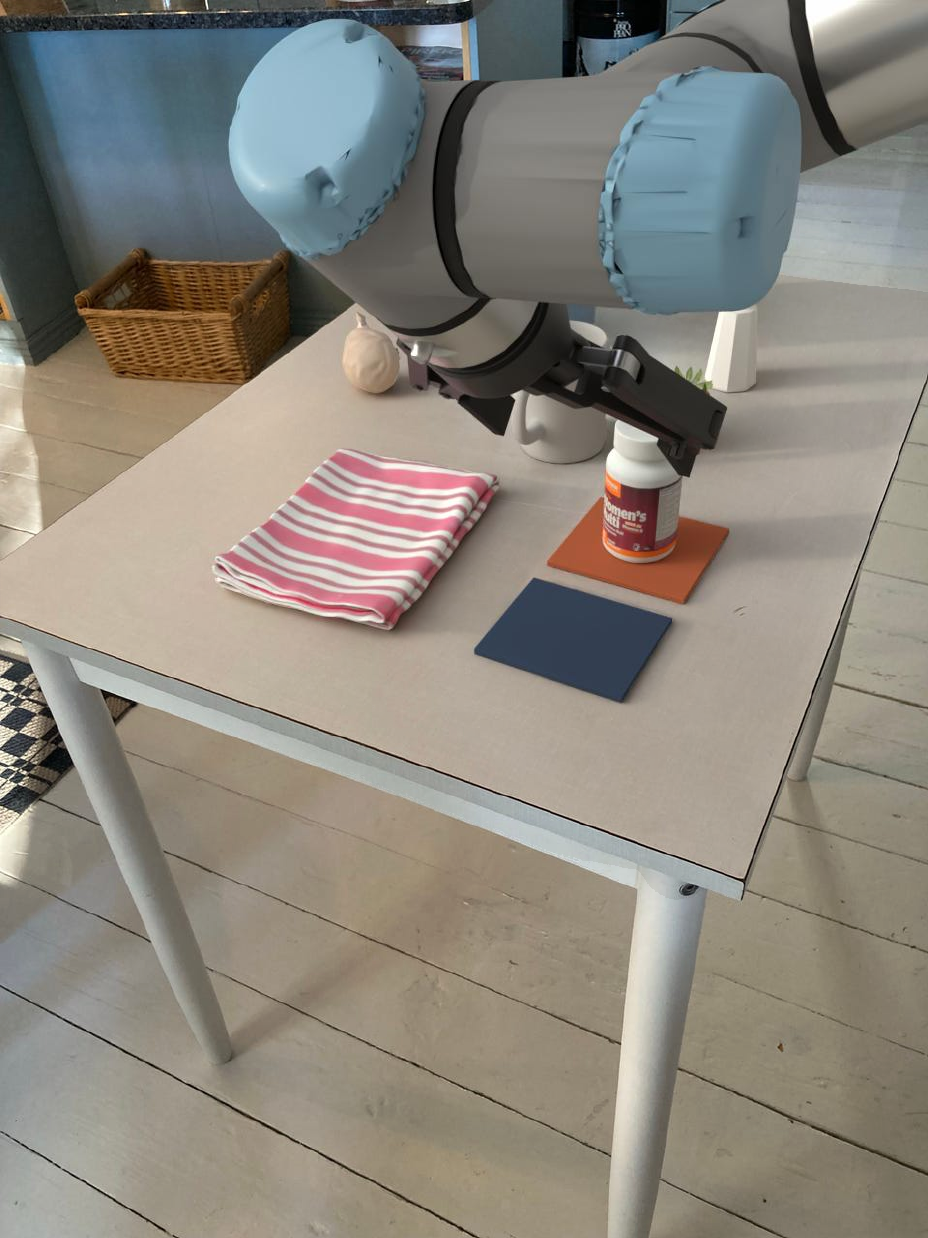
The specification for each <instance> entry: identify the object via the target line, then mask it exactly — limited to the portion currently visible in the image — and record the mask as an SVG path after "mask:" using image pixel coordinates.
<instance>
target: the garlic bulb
mask: <svg viewBox="0 0 928 1238" xmlns="http://www.w3.org/2000/svg"><path fill="white" fill-rule="evenodd" d="M354 315H355V318H356V321H357V326H356V327H355V328H353V329H352V330H351V331H350V332H349V333H348V334H347V336H346V338H345V341H344V348H343V353H342V358H341V364H342V368H343V371H344V373H345V375H346V377H347V379H348V381H349V382H350V383H351V384H352V385H353V386H354V387H355V388H357V389H359V390H362V391H365V392H369V393H370V394H371V393H372V394H381V393H383V392H386V391H388V390H389V389H390V388H391V387H392V386H393V385H394V384H395V383H396V382H397V380H398V378H399V375H400V370H401V369H400V368H401V367H400V361H401V356H400V351H399V349H398V347H395V345H394V343H393V341H392V340H391V338H390V336H389V335H388V334H386V333H385V332H382V331H380V330H377V329H373V328H371V327H369V324H367V321H366V318H367V317H366V316H365V315H363V314H361V313H360V312H359V311H357V310H354Z"/></svg>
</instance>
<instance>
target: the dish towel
mask: <svg viewBox="0 0 928 1238" xmlns="http://www.w3.org/2000/svg"><path fill="white" fill-rule="evenodd" d="M499 489H500V477H499V476H498V475H497V474H495V473H490V472H477V471H472V470H467V469H462V468H456V467H450V466H447V465H439V464H438V465H437V464H432V463H429V462H424V461H423V462H422V461H413V460H407V459H403V458H402V459H401V458H398V457H390V456H389V457H388V456H383V455H382V456H381V455H380V454H375V453H372V452H368V451H364V450H361V449H356V448H350V447H349V448H348V447H347V448H346V447H343V448H339V449H337V450H336V451H335V453H334V454H333V455H332V456H330V457H328V459H325V460H324V461H323V462H322V463H321V464H320V465H319V466H317V467H316V468H314V471H312V474H310V476H308V478H306V479H305V481H304V483H303V485H302V486H300V488H298V490H297V491H295V493H293V494H292V495H290V497H289V498H288V499H287V500H286V501H285V502H284V503H283V504H280V505H279V506H278V508H277V509H276V511H275V512H272V514H270V515H269V518H268V520H267V521H266V522H265V523H264V524H262V525H259V526H256V527H255V528H254V529H253V530H251V531H250V533H248V534H247V535H245V536H243V537H242V538H241V539H240V540H239V542H238V543H237V544H234V545H233V546H232V547H231V549H229V550H228V552H226V553H220V554H217V555H216V556H215V558H214V561H215V562H216V563H215V564H213V565H212V566H211V570H212V573H213V574H214V575H216V577H215V578H214V581H215V583H216V584H217V585H219V586H220V587H222V588H223V589H226V590H228V591H229V590H230V591H232V592H235V593H239V594H242V595H244V596H246V597H250V598H252V599H254V600H255V599H256V600H258V601H261V602H264V603H268V604H273V605H276V606H280V607H284V608H289V609H293V610H298V611H302V612H305V613H310V614H312V615H316V616H321V617H327V618H338V619H343V620H347V621H352V622H355V623H359V624H363V625H366V626H370V627H373V628H377V629H381V630H385V631H390V630H391V629H393V628H394V627H395V626H396V624H397V623H398V620H399V618H400V616H401V615H402V614H403V613H405V612H406V611H407V610H409V609H410V608H411V606H412V604H413V603H415V602H416V601H418V600H419V598H420V597H421V596H422V595H423V593H424V592H425V591H426V589H427V587H428V586H429V584H430V582H431V581H432V579H433V578H434V576H435V575H436V573H437V572H438V571H439V570H440V569H442V567H443V566H444V564H445V563H446V562H447V561H448V560H449V559H450V558H451V556H452V555H453V553H454V551H455V550H456V549H457V548H458V547H459V545H460V542H461V541H462V539H463V538H464V536H465V535H466V533H468V532H469V531H470V530H471V529H472V528H473V527H474V525H475V524H476V523H477V522H478V521H479V520H480V518H481V516H482V514H483V513H484V512H485V510H486V509H487V508H488V507H487V506H488V504H489V502H490V501H491V498H492V497H493V496H494V494H496V492H498V490H499Z"/></svg>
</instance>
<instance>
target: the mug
mask: <svg viewBox="0 0 928 1238" xmlns="http://www.w3.org/2000/svg"><path fill="white" fill-rule="evenodd" d="M570 326H571V329H572V330H574V331H575V332H577V333H578V334H580V335H581V336H583V337H584V338H586V339H587V340H589V341H591V342H593V343H595V344H597V345H599V346H601V347H603V348H604V349H609V337H608V334H607V333H606V332H605V330H603V328H601V327H599V326H597V325H595V324H593V325H592V324H589V323H585V322H579V321H570ZM577 382H578V379H577V380H576V381H574V382H573V383H571V384H570V385H568V386H566V387H565V388H566V389H569V390H571V391H573V392H574V391H575V388H576V385H577ZM512 397H513V398H514V399H515V400H516V401H515V404H514V407H513V410H512V413H511V416H510V420H511V428H512V429H511V430H512V432H513V433H512V434H513V437H514V439H515V440H516V441H517V443H518V444H520V447H521V449H522V450H523V452H524V453H525V454H526V455H527V456H529V457H530V458H532V459H535V460H537V461H540V462H545V463H548V464H549V463H550V464H575V463H579V462H582V461H586V460H589V459H591V458H593V457H594V456H596V455H598V454H599V453H600V452H601V451H602V449H604V446H605V444H606V438H607V437H606V435H607V414H605V413H603V412H601V411H599V410H596V409H594V408H592V407H587V408H581V409H573V408H571V407H569V406H567V405H565V404H562V403H560V402H558V401H556V400H554V399H552V398H549V397H547V396H545V395H540V396H535V395H532V394H530V393H528V392H525V391H523V390H521V391H519V392H516V393H514V394H512Z"/></svg>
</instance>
